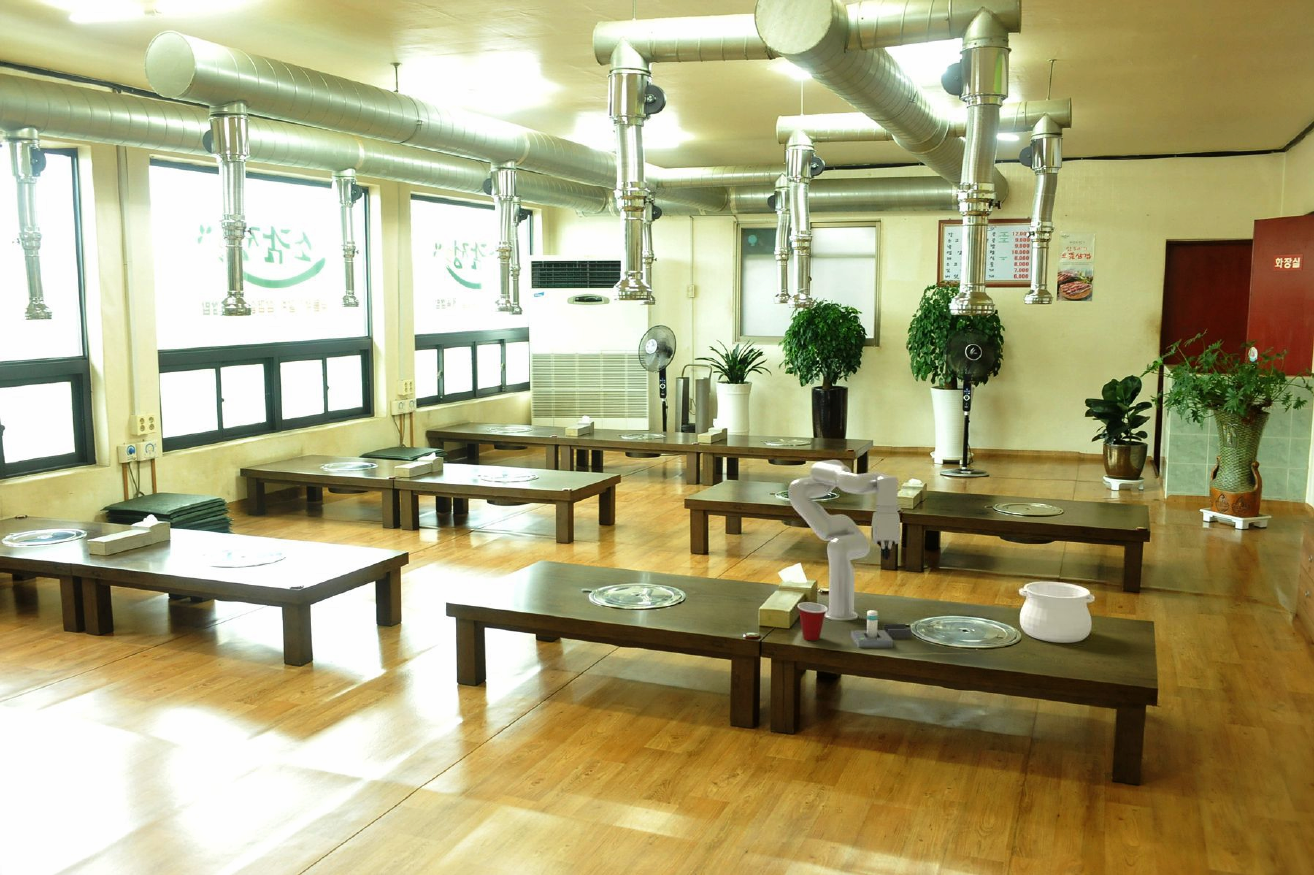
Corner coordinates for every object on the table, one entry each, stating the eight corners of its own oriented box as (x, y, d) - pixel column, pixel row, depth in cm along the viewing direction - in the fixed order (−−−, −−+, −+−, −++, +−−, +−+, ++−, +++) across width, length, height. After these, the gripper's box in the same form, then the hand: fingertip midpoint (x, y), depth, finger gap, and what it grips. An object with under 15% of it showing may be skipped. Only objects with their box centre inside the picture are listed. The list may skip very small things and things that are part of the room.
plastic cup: (822, 644, 369) (823, 611, 368) (793, 640, 374) (793, 608, 373) (830, 636, 379) (831, 603, 378) (802, 632, 384) (802, 600, 382)
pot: (1014, 639, 375) (1015, 593, 373) (1021, 621, 397) (1022, 578, 395) (1091, 649, 364) (1093, 601, 362) (1094, 629, 386) (1096, 585, 384)
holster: (882, 633, 382) (883, 623, 382) (904, 632, 383) (904, 623, 382) (888, 640, 375) (888, 630, 374) (910, 639, 375) (910, 630, 374)
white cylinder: (865, 640, 372) (866, 610, 371) (875, 640, 372) (876, 610, 371) (867, 643, 368) (868, 613, 367) (878, 643, 368) (878, 613, 367)
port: (851, 638, 376) (851, 629, 376) (884, 638, 376) (884, 629, 376) (858, 649, 364) (858, 640, 364) (892, 648, 365) (893, 639, 364)
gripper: (904, 507, 384) (902, 556, 386) (863, 507, 384) (862, 556, 386) (909, 511, 377) (908, 561, 379) (868, 511, 376) (867, 561, 378)
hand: (885, 558), depth 382 cm, fingers closed
